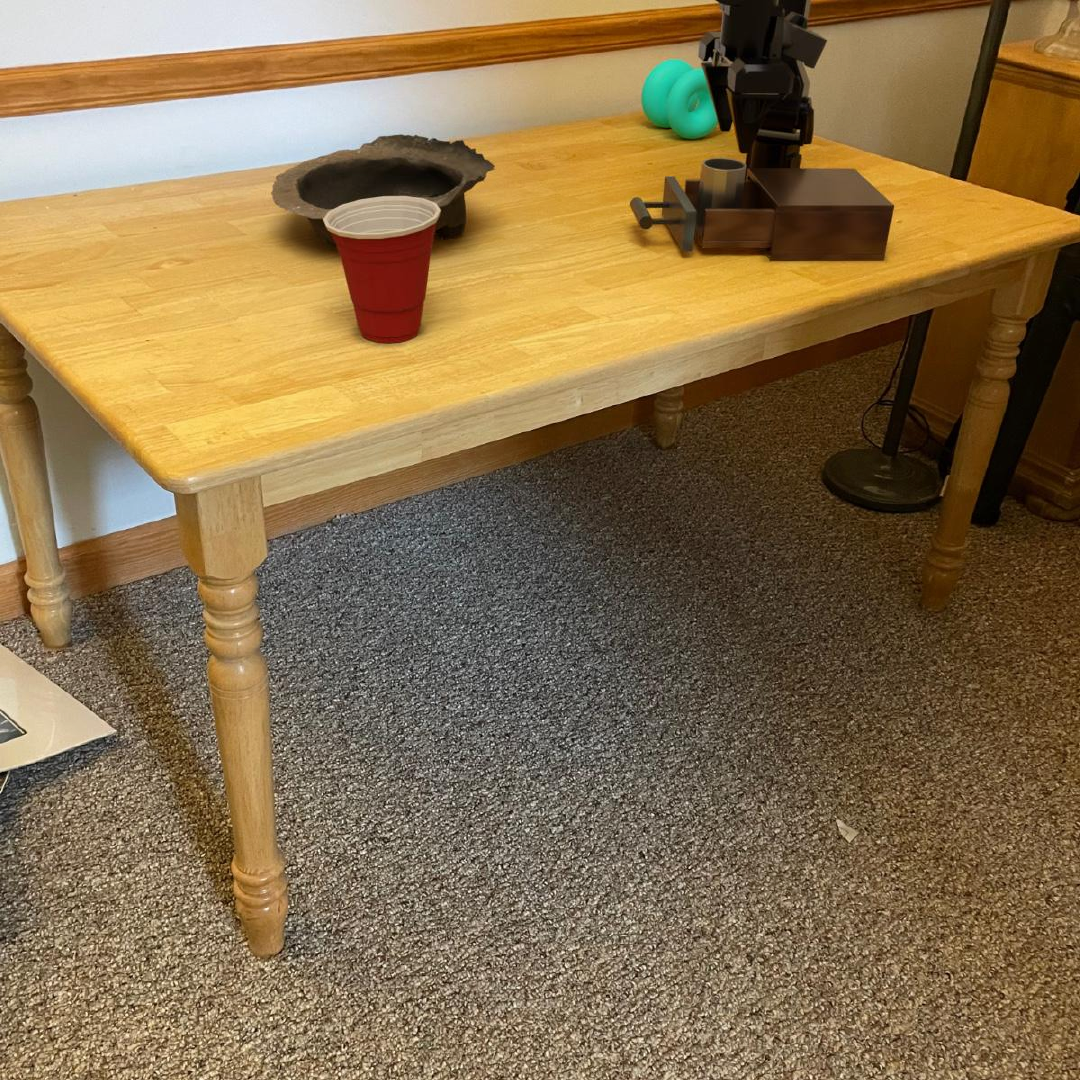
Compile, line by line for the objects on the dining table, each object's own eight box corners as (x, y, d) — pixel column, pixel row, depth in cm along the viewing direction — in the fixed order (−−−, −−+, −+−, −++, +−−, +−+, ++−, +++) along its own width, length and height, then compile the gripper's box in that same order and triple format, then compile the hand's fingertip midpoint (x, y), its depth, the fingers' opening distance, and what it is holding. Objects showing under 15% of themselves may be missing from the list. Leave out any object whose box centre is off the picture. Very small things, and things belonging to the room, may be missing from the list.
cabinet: (770, 260, 135) (778, 205, 131) (740, 219, 147) (747, 167, 143) (883, 260, 136) (894, 205, 132) (845, 219, 148) (854, 168, 144)
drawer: (642, 252, 133) (645, 211, 131) (624, 214, 144) (627, 176, 142) (788, 251, 135) (794, 211, 132) (760, 214, 146) (765, 176, 143)
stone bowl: (523, 218, 143) (524, 142, 138) (422, 301, 125) (418, 218, 120) (350, 184, 152) (343, 111, 146) (231, 258, 134) (219, 178, 128)
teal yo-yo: (670, 144, 175) (676, 73, 169) (635, 128, 182) (640, 59, 177) (725, 137, 179) (733, 68, 173) (689, 122, 186) (695, 55, 181)
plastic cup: (334, 310, 119) (326, 191, 112) (442, 309, 120) (439, 191, 113) (327, 355, 110) (317, 229, 103) (443, 354, 111) (441, 229, 104)
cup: (687, 223, 139) (693, 163, 135) (713, 214, 142) (720, 155, 138) (721, 233, 136) (728, 172, 132) (747, 224, 139) (754, 164, 135)
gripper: (853, 8, 118) (828, 165, 127) (800, -21, 134) (781, 121, 142) (745, 6, 117) (727, 165, 126) (704, -22, 133) (690, 120, 141)
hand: (734, 141), depth 134 cm, fingers open, 9 cm apart
